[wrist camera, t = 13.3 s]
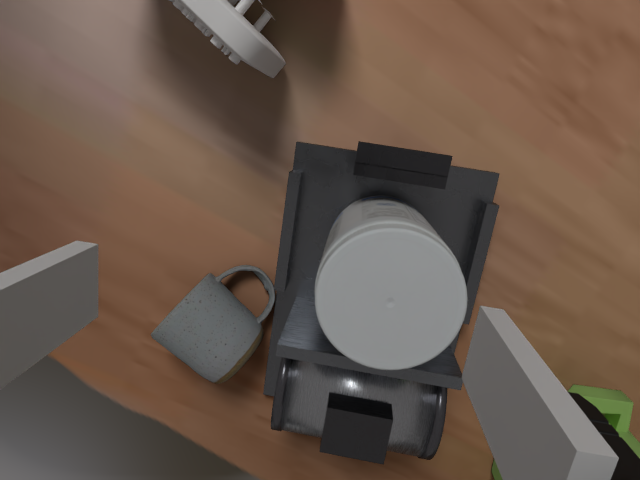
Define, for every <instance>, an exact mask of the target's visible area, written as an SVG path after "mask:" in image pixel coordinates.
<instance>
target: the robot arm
mask: <svg viewBox="0 0 640 480" xmlns="http://www.w3.org/2000/svg"><path fill="white" fill-rule="evenodd" d="M97 317H98V244H95V243H88V242H82V241H75V242H72V243H70V244H68V245H65V246H63V247H61V248H58V249H56V250H53V251H51V252H49V253H46V254H44V255H42V256H39V257H37V258H34V259H32V260H30V261H27V262H25V263H23V264H20V265H18V266H16V267H13V268H11V269H8V270H6V271H4V272H1V273H0V390H1V389H2V388H3V387H5V386H6V385H7V384H9V383H10V382H11V381H13V380H14V379H15V378H17V377H18V376H19V375H21V374H22V373H23V372H25V371H26V370H27V369H29V368H30V367H31V366H33V365H34V364H35V363H37V362H38V361H39V360H41V359H42V358H43V357H45V356H46V355H47V354H49V353H50V352H51V351H53V350H54V349H56V348H57V347H58V346H60V345H61V344H62V343H64V342H65V341H66V340H68V339H69V338H70V337H72V336H73V335H74V334H76V333H77V332H78V331H80V330H81V329H82V328H84V327H85V326H86V325H88V324H89V323H90V322H92V321H93V320H94V319H96V318H97ZM462 380H463V383H464V385H465V388H466V390H467V393H468V395H469V398H470V400H471V403H472V405H473V408H474V410H475V412H476V415H477V417H478V420H479V422H480V425H481V427H482V430H483V432H484V435H485V437H486V440H487V442H488V445H489V447H490V449H491V452H492V454H493V457H494V459H495V462H496V464H497V467H498V469H499V472H500V474H501V477H502V479H503V480H640V458H639V457H638V456H637V455H636V454H635V452H634V451H633V450H632V449H631V448H630V447H629V445H628V444H627V443H626V442H625V441H624V439H623V438H622V437H619V433H618V432H617V431H616V430H615V429H614V427H613V426H612V425H609V421H608V420H607V419H606V418H605V417H604V415H603V414H602V413H601V412H600V411H599V410H598V408H597V407H596V406H594V405H593V404H592V403H590V402H589V401H588V400H586V399H585V398H584V397H582V396H581V395H580V394H578V393H572V392H567V391H566V389H565V388H564V387H563V385H562V384H561V383H560V382H559V380H558V379H557V378H556V376H555V375H554V374H553V373H552V371H551V370H550V369H549V367H548V366H547V365H546V364H545V362H544V361H543V360H542V358H541V357H540V356H539V355H538V353H537V352H536V351H535V349H534V348H533V347H532V346H531V344H530V343H529V342H528V340H527V339H526V338H525V337H524V335H523V334H522V333H521V331H520V330H519V329H518V328H517V326H516V325H515V324H514V322H513V321H512V320H511V319H510V317H509V316H508V315H507V313H506V312H505V311H504V310H503V309H497V308H491V307H485V306H480V309H479V312H478V316H477V320H476V324H475V328H474V332H473V336H472V339H471V343H470V347H469V351H468V355H467V359H466V362H465V366H464V370H463V374H462Z"/></svg>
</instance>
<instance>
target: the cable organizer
mask: <svg viewBox="0 0 640 480" xmlns="http://www.w3.org/2000/svg"><path fill="white" fill-rule="evenodd" d="M169 1H171V2H173V3H172V4H173V5H174V6H175V7H176V8H178V9H179V10H180V11H181V12H182V14H184V15H185V16H186V18H187V19H189V20H190V21H191V22H194V25H195V26H196V27H197V28H198V29H199V30H201V31H202V33H203V34H204V35H205V36H206V37H207V36H208V37H210V35H211V34H212V35H213V37H212V39H211V40H210V41H211V42H212V43H213V44H214V45H215V46H216V47H217V48H219V49H220V48H221V47H222V46H223V45H224V47H223V48H222V50H221V51H222V52H223V53H224V54H225V55H228V54H229V53H230V52H232V53H231V54H230V56H229V57H228V58H229V59H230V60H231V61H232V62H233V63H235V64H236V65H238V63H239V62H240V61H241V60H242V61H244V62H245V63H247V64H248V65H250V66H252V67H254V68H255V69H257V70H259V71H260V72H262V73H264V74H266V75H267V76H269V77H271V78H274V77H275V76H276V75H277V74H278V73H279V71H280V70H281V69H282V68H283V67H284V65H285V64H286V62H285V60H284V59H283V57H282V56H281V54H280V53H279V52H278V51H277V50H276V48H275V47H274V46H273V45H272V44H271V43H270V42H269V41H268V40H267V39H266V38H265V37H264V36H263V35H262V34H261V33H260V31H261V30H262V29H263V27H264V26H265V25H266V24H267V22H268V21H269V20H270V19H271V17H272V18H273V16H272V15H271V13H270V12H269V11H268V10H266V9H265V8H263V7H262V6H261V7H262V8H263V9H264V10H265V11H264V13H263V14H262V15H261V16H260V18H259V19H258V20H257V21H256V23H255V24H254V25H252V24H251V23H250V22H249V21H248V20H247V19H246V18H245V17H244V16H243V15H244V13H245V12H246V11H247V10H248V8H249V7H250V6H251V4H252V3H253V2H254V1H255V0H241V1H240V2H239V3H238V5H237V6H236V7H234V5H235V4H236V3H237V1H238V0H169ZM258 1H259V2H260V3H261V1H260V0H258ZM261 4H262V3H261ZM262 5H263V4H262ZM273 19H274V18H273ZM274 20H275V19H274ZM275 21H276V20H275Z"/></svg>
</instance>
